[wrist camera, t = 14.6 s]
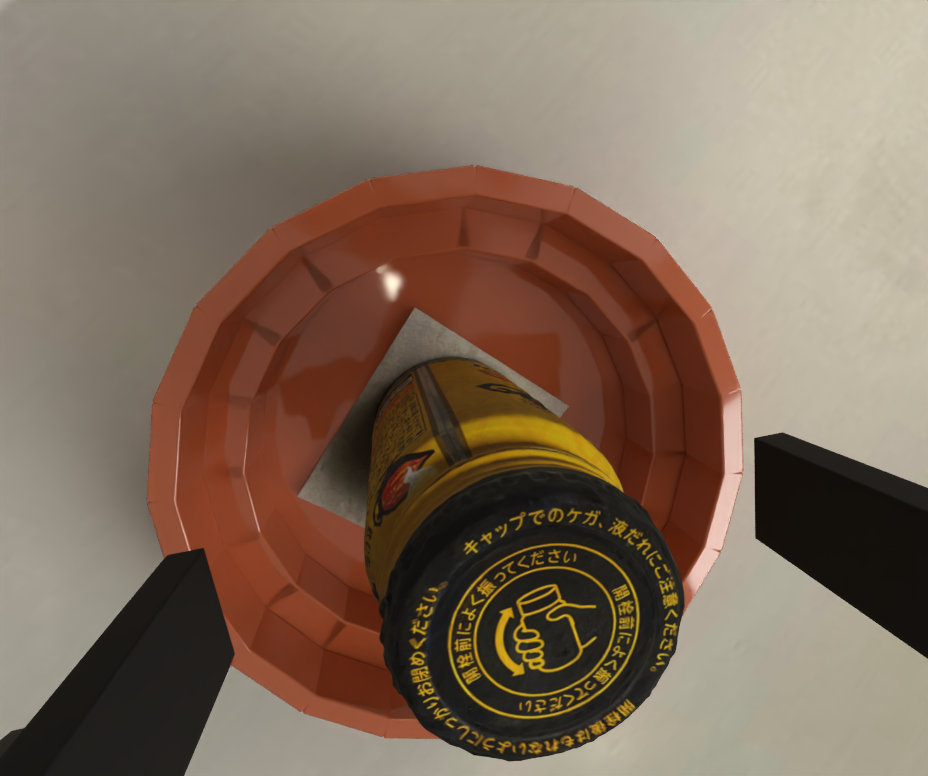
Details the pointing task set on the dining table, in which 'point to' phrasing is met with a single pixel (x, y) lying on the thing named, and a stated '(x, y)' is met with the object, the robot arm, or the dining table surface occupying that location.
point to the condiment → (498, 552)
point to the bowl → (357, 357)
